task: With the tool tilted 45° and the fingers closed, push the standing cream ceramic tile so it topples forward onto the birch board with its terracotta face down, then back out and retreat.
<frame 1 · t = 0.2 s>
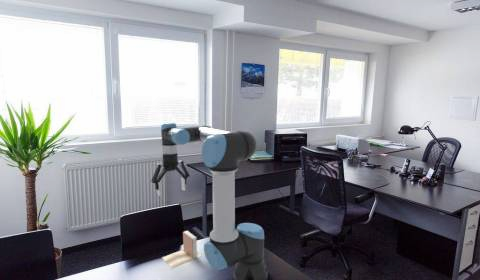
hand: (171, 192, 157), 28 cm above the table, tool pointing down, fingers open, 13 cm apart
board: (182, 258, 145), on the table
tile: (190, 253, 148), point 1 cm above the table, touching board
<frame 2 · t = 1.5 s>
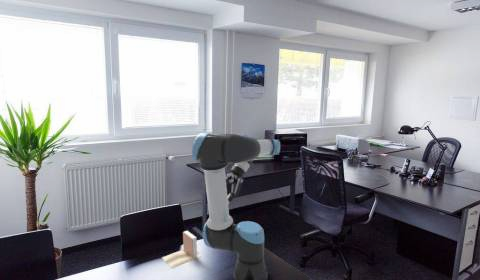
hand: (216, 202, 154), 23 cm above the table, tool tilted 45°, fingers open, 12 cm apart
nothing on the table moved.
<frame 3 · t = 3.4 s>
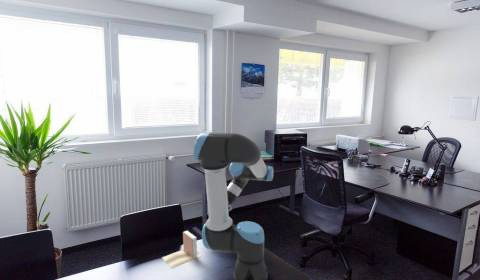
hand: (206, 231, 153), 9 cm above the table, tool tilted 45°, fingers closed
nothing on the table moved.
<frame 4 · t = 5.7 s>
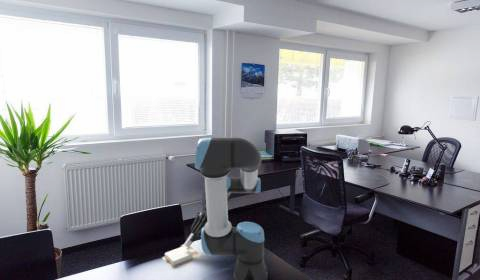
hand: (186, 246, 146), 6 cm above the table, tool tilted 45°, fingers closed
tile: (187, 252, 147), point 2 cm above the table, tilted 90°, touching board
everything else where it was.
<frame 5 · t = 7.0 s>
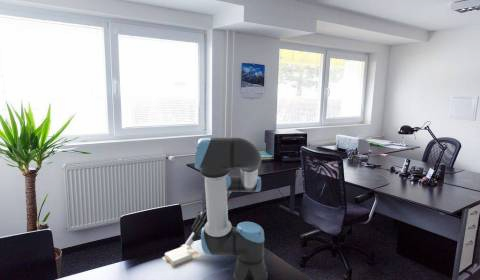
hand: (187, 245, 146), 6 cm above the table, tool tilted 45°, fingers closed
nothing on the table moved.
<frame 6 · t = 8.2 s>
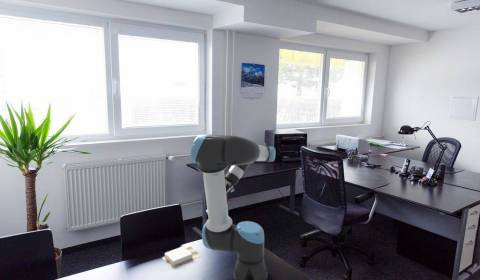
hand: (208, 212, 152), 19 cm above the table, tool tilted 45°, fingers closed
nothing on the table moved.
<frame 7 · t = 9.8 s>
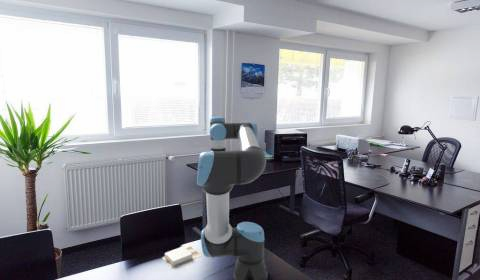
hand: (218, 191, 155), 28 cm above the table, tool pointing down, fingers closed
nothing on the table moved.
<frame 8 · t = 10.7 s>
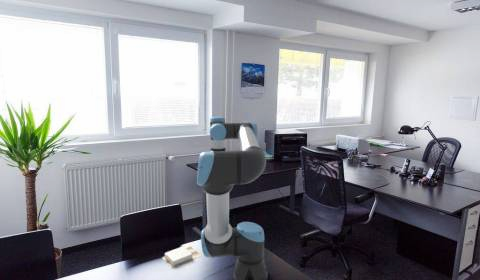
hand: (218, 191, 155), 28 cm above the table, tool pointing down, fingers closed
nothing on the table moved.
at the end: tile tilted 90°; tile inside the target area on the board (3.2 cm from its centre), point 2.2 cm above the board's base; tile touching board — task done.
